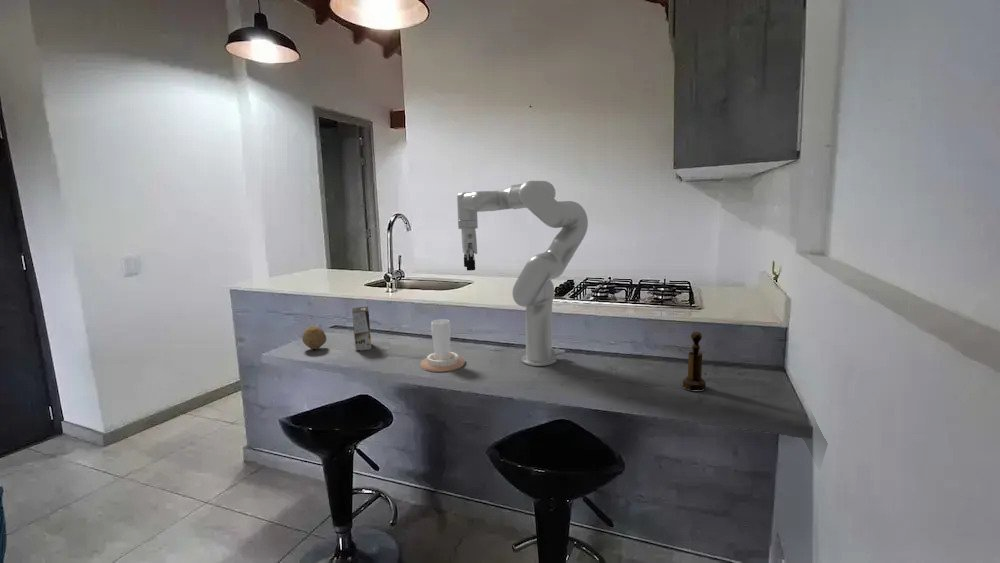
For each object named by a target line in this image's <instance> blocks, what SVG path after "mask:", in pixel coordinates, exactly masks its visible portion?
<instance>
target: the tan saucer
mask: <svg viewBox="0 0 1000 563" xmlns="http://www.w3.org/2000/svg"><path fill="white" fill-rule="evenodd" d="M465 362H466V360H465V358H464V357H462V356H461V355H460V356H459V355H458V353H456V352H453V351H450V359H448V360H441V361H439V360H435V353H434V352H432V353H430V354H428V355H427V357H426V358H424V359H422V360H421V361H420V368H421V369H422V370H424V371H427V372H432V373H447V372H451V371H455V370H458V369H461V368H462V367H463V366H465V364H466V363H465Z"/></svg>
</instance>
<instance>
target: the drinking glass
mask: <svg viewBox="0 0 1000 563" xmlns="http://www.w3.org/2000/svg"><path fill="white" fill-rule="evenodd" d="M430 323H431V326H430V327H431V338H432V343H433V345H432V346H433V351H434V352H433V353H435V360H439V361H441V360H448V359H450V352H451V323H450V320H449V319H445V318H443V319H442V318H441V319H439V318H438V319H434V320H432V321H431V322H430Z"/></svg>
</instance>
